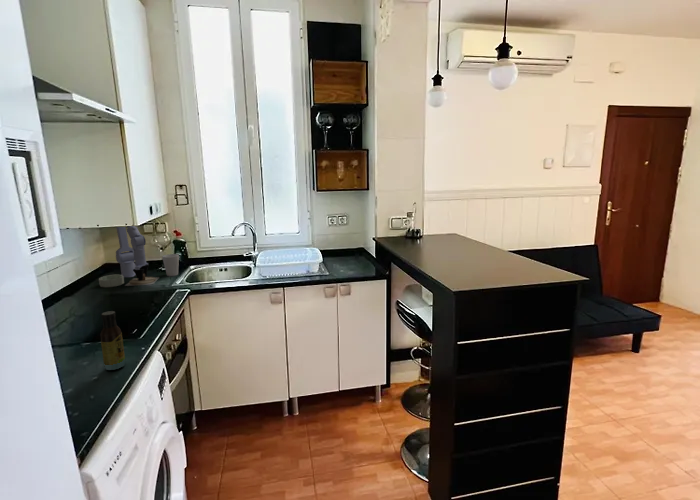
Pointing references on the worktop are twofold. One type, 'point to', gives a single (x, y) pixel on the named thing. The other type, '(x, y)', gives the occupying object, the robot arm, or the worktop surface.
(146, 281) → the lid
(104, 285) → the bowl
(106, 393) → the worktop surface
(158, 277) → the mat
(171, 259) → the foam cup
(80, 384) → the worktop surface
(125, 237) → the robot arm
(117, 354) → the sauce bottle
